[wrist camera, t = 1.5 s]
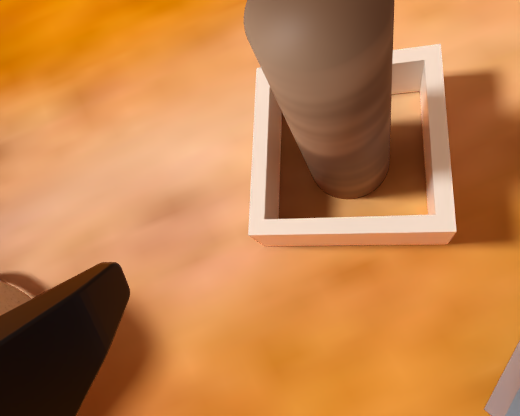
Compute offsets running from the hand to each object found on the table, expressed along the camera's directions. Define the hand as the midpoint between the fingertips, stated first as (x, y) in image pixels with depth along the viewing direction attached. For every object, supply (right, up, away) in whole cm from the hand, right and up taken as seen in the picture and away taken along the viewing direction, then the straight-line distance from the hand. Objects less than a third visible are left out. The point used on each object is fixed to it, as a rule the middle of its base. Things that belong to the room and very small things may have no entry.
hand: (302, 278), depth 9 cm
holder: (+4, +4, +15) cm, 16 cm away
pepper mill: (+4, +4, +15) cm, 16 cm away
